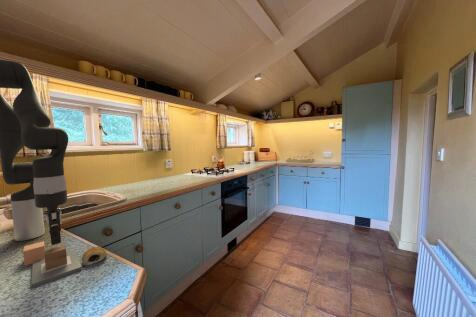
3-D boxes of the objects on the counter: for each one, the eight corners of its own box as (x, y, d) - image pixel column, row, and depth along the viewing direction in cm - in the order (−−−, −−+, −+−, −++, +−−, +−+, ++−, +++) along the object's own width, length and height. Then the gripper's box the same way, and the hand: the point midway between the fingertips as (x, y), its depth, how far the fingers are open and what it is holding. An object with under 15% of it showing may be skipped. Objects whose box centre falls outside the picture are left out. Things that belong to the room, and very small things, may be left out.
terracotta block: (25, 260, 69) (24, 246, 69) (45, 254, 73) (44, 241, 73) (24, 265, 66) (23, 251, 65) (45, 259, 69) (44, 245, 69)
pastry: (83, 255, 71) (82, 245, 71) (105, 249, 75) (104, 239, 75) (82, 268, 64) (81, 256, 64) (107, 260, 68) (106, 249, 68)
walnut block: (45, 264, 64) (44, 249, 64) (65, 257, 68) (64, 243, 68) (45, 270, 61) (44, 254, 60) (67, 263, 64) (65, 248, 64)
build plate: (33, 264, 66) (32, 261, 66) (75, 251, 74) (75, 248, 74) (31, 288, 55) (31, 284, 55) (81, 269, 63) (81, 266, 62)
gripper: (34, 188, 65) (39, 236, 67) (33, 196, 55) (39, 252, 57) (64, 185, 71) (68, 229, 72) (68, 191, 61) (73, 242, 62)
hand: (55, 239), depth 64 cm, fingers open, 8 cm apart
